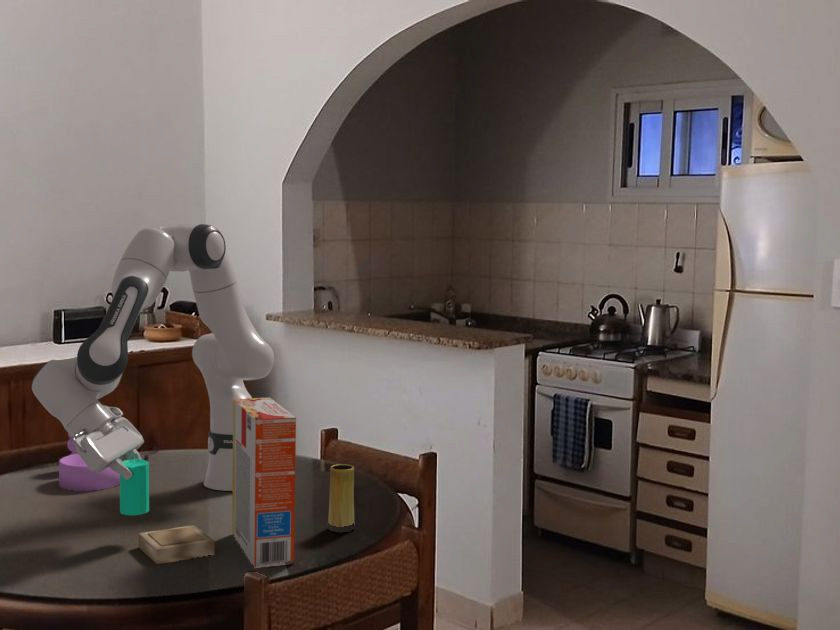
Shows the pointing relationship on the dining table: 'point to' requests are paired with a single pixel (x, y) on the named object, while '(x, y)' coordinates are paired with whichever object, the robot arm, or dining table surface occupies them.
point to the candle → (135, 488)
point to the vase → (341, 495)
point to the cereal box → (264, 480)
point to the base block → (176, 544)
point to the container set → (83, 473)
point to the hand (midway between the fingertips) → (137, 473)
